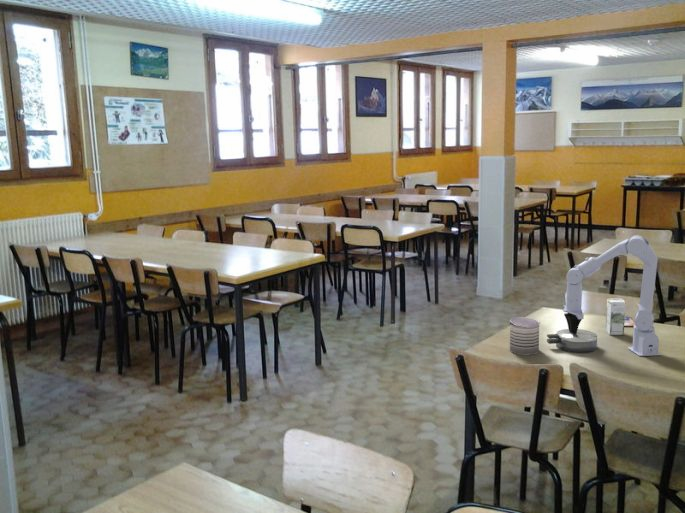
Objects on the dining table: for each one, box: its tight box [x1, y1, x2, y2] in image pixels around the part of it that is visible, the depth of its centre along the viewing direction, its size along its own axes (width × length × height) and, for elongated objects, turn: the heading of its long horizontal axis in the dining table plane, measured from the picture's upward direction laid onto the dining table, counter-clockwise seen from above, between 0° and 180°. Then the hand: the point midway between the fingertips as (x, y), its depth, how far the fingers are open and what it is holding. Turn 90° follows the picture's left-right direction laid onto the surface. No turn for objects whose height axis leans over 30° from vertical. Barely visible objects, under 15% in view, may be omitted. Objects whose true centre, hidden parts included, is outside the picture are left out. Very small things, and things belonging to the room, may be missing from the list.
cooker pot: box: [546, 338, 598, 354], centre depth 254 cm, size 15×19×4 cm
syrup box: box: [605, 298, 626, 336], centre depth 268 cm, size 6×6×14 cm
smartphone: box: [624, 316, 635, 328], centre depth 285 cm, size 7×1×15 cm
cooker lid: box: [546, 328, 598, 343], centre depth 254 cm, size 15×19×1 cm
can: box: [508, 316, 541, 356], centre depth 252 cm, size 11×11×12 cm
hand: (572, 332), depth 257 cm, fingers closed on cooker lid
